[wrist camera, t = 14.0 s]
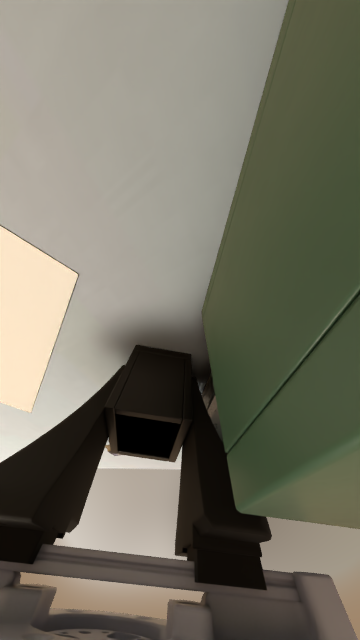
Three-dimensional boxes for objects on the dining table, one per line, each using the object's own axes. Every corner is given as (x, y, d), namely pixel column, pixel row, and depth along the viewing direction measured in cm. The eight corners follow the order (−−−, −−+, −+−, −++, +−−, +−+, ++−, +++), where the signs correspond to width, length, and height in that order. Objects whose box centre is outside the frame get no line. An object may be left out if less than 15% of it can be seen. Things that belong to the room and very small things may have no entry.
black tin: (179, 396, 14) (175, 462, 10) (134, 388, 14) (110, 453, 10) (191, 354, 11) (192, 420, 7) (136, 344, 11) (103, 406, 7)
